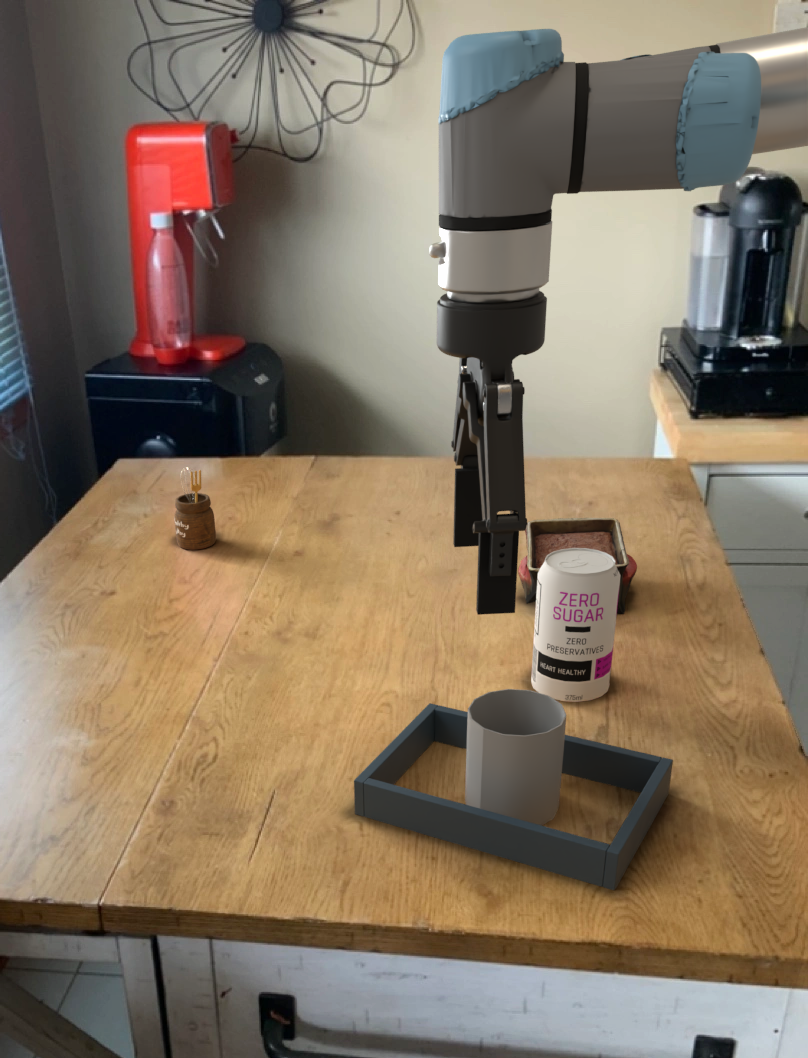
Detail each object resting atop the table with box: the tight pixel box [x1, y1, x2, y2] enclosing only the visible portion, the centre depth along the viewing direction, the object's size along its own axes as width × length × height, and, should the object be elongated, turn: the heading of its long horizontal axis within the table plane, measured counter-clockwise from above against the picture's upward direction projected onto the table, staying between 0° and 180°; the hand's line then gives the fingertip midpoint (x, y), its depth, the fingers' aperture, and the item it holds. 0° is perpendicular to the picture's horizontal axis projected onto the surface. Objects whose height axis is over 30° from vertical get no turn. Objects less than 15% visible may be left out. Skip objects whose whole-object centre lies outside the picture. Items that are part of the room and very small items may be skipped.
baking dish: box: [517, 517, 638, 615], centre depth 143 cm, size 14×18×10 cm
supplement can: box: [530, 548, 621, 703], centre depth 119 cm, size 8×8×15 cm
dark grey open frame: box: [353, 702, 674, 891], centre depth 103 cm, size 24×16×4 cm, turn 58°
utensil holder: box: [173, 467, 217, 551], centre depth 165 cm, size 6×6×12 cm
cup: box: [464, 688, 567, 826], centre depth 101 cm, size 8×8×10 cm
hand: (481, 576), depth 89 cm, fingers open, 13 cm apart
